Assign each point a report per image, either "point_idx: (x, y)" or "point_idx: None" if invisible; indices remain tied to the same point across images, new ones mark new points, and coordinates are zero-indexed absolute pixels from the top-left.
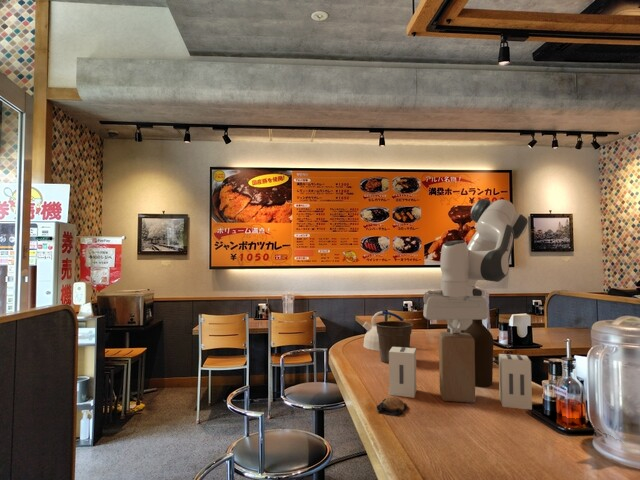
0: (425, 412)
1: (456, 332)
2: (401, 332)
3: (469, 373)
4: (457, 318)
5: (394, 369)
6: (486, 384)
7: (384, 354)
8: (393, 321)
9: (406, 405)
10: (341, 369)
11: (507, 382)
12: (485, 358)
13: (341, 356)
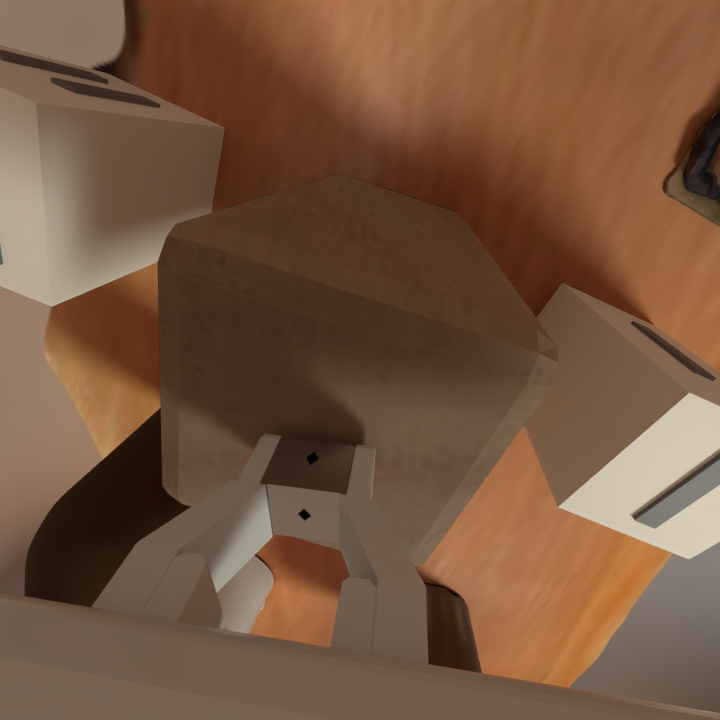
0: (639, 58)
1: (319, 446)
2: None
3: (327, 189)
4: (227, 660)
5: (716, 375)
6: None
7: (469, 628)
8: None
9: (714, 128)
10: (649, 579)
11: (129, 105)
12: (159, 428)
13: (569, 659)
